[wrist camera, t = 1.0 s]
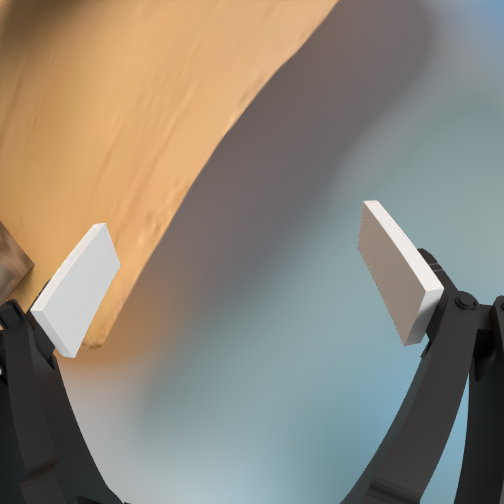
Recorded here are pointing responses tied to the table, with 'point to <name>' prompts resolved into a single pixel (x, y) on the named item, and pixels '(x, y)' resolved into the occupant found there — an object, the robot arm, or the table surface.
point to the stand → (11, 264)
